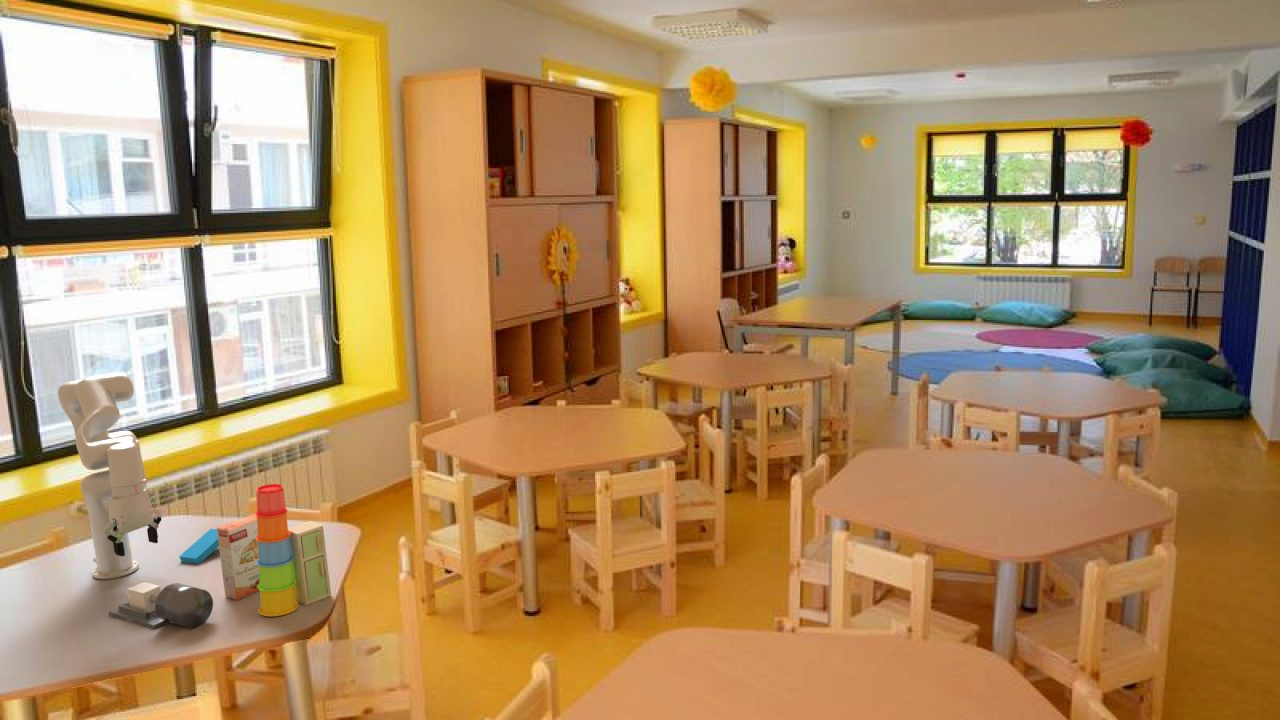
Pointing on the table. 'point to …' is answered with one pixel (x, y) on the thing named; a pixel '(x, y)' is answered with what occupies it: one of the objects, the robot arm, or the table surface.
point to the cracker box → (239, 557)
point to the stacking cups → (274, 553)
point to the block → (143, 596)
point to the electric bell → (171, 608)
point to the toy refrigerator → (309, 562)
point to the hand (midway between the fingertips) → (137, 548)
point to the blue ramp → (201, 548)
